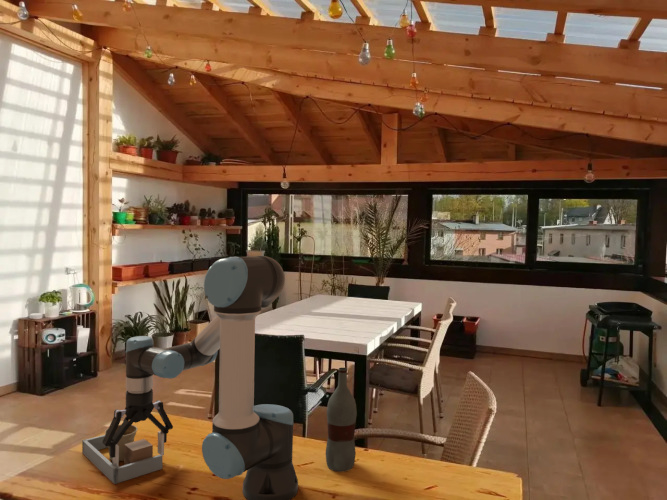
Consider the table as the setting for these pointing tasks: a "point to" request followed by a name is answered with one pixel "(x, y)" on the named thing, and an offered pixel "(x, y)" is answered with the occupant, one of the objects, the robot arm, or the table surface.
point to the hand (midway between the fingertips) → (138, 460)
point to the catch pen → (119, 473)
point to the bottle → (341, 426)
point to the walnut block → (137, 451)
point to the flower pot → (125, 440)
